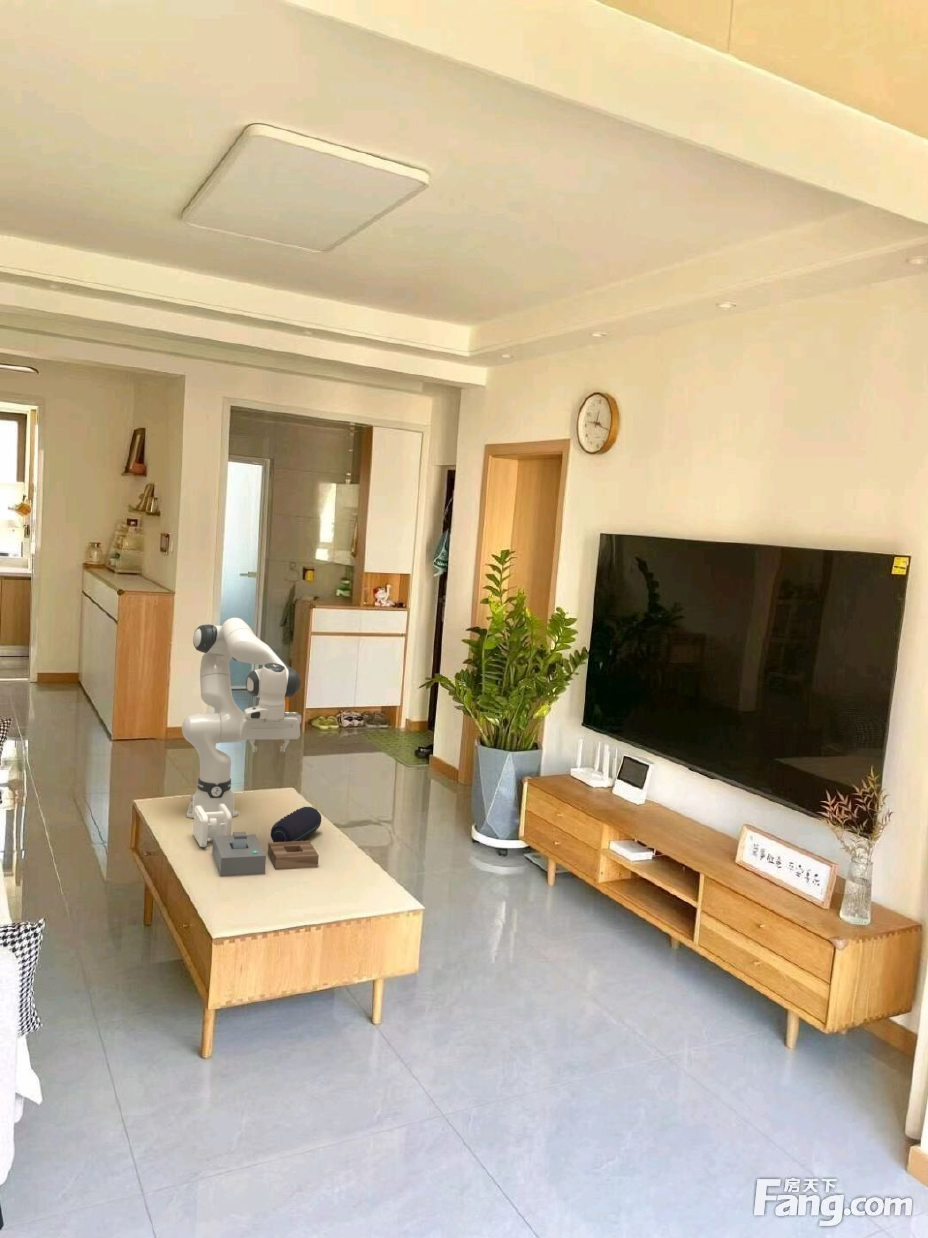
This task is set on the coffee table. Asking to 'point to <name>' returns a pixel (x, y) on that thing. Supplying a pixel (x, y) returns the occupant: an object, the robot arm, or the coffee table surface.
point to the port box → (238, 856)
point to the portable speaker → (296, 825)
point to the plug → (239, 840)
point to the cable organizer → (211, 824)
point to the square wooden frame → (292, 854)
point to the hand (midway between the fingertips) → (268, 751)
